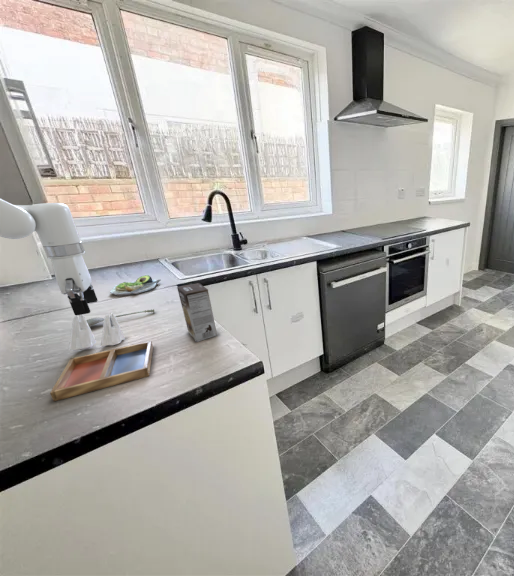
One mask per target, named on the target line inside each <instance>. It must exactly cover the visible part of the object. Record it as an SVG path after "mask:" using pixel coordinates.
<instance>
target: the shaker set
mask: <svg viewBox="0 0 514 576" xmlns="http://www.w3.org/2000/svg"><path fill="white" fill-rule="evenodd" d="M115 316H116V315H115V313H114V312H110V313H109V314H105V316H104V321H103V324H102V325H103V326H102V327H103V328H102V333H101V340H100V346H101V347H106V346H114V345H115V346H116V345H119V344H120V343H122V341H125V334H124V333H123V330H122V328H121V326H120V323H119V321H118V319H117V317H115ZM86 320H87V319H86V318H85V316H84V314H82V315H77V316H76V315H74V317H73V319H72V322H71V323H72V325H71V331H70V339H69V346H68V350H69V351H75V352H76V351H82V350H83V351H84V350H87V349H91V348H92V347H93V345H95V344H96V343H97V340H96V337H95V336H94V333H93V331H92V329H91V326H90V327H89V325H88V323H87V321H86Z"/></svg>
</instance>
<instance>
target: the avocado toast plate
mask: <svg viewBox="0 0 514 576" xmlns="http://www.w3.org/2000/svg"><path fill="white" fill-rule="evenodd" d="M161 281H162V279H157V280H156V279H153V278H152V277H151V275H148V274H147V275H142V276H140V277H138V278H137V279H136V280H135V281H127V282H126V281H124V282H122V283H118V284H116V285H114V287H112V289H111V290H110V291H109V294H111V295H115V296H119V297H125V296H131V295H138V294H142V293H145V292H148V291H151V290H153V289H154V288H155V287H156V286H157V285H158V284H159V282H161Z"/></svg>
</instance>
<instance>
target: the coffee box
mask: <svg viewBox="0 0 514 576" xmlns="http://www.w3.org/2000/svg"><path fill="white" fill-rule="evenodd" d="M176 289H177V293H178V296H179V301H180V305H181V308H182V312H183V317H184V320H185V325H186V328H187V331H188V334H189V335H190V337H192V338H193V340H194V341H195V342H196V343H198V342H202V341H204V340H208V339H210V338H213V337H217V336H218V331H217V328H216V323H215V317H214V312H213V307H212V302H211V298H210V292H209V289H208V288H206V287H205V286H204V285H202V284H201V283H200V282H196V283H191V284H190V283H189V284H184V285H179V286H177V287H176Z"/></svg>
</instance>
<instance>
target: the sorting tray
mask: <svg viewBox="0 0 514 576" xmlns="http://www.w3.org/2000/svg"><path fill="white" fill-rule="evenodd" d="M153 353H154V345H153V341H152V340H148V341H144V342H140V343H135V344H130V345H126V346H121V347H116V348H112V349H108V350H107V349H106V350H103V351H98V352H93V353H90V354H85V355H82V356H81V355H80V356H75V357H72V358H70V359H68V360H69V361H68V362H67V364H66V366H65V367H64V369H63V370H62V371H61V374H60V376H59V377H58V379H57V380H56V382H55V384H54V385H53V387H52V389H51V391H50V392H49V394H50V397H51V399H52V401H53V402H58V401H61V400H66V399H68V398H73V397H76V396H80V395H83V394H87V393H91V392H94V391H98V390H103V389H106V388H109V387H110V388H111V387H113V386H117V385H121V384H124V383H128V382H129V383H130V382H131V381H136V380H139V379H144V378H147V377H150V374H151V368H152V359H153Z"/></svg>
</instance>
